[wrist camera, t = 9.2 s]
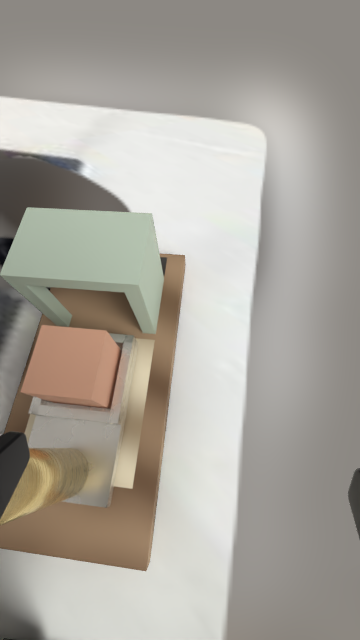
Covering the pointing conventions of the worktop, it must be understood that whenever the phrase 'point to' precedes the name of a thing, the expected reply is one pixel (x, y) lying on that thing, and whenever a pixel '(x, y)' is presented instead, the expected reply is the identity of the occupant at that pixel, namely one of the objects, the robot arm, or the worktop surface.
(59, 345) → the terracotta block
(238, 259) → the worktop surface
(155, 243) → the tunnel
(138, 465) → the track board
